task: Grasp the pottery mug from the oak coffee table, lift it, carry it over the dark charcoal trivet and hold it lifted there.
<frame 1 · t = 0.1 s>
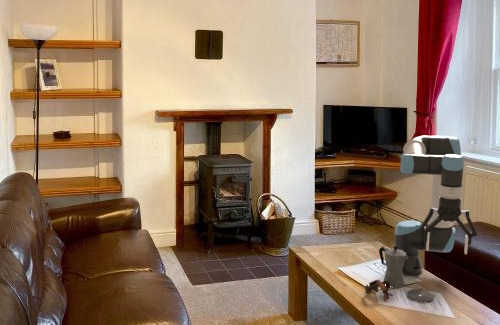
hand: (446, 251, 205), 28 cm above the table, tool pointing down, fingers open, 13 cm apart
trivet: (420, 296, 230), on the table
pottery mug: (378, 297, 231), on the table
coffeepot: (391, 284, 244), on the table
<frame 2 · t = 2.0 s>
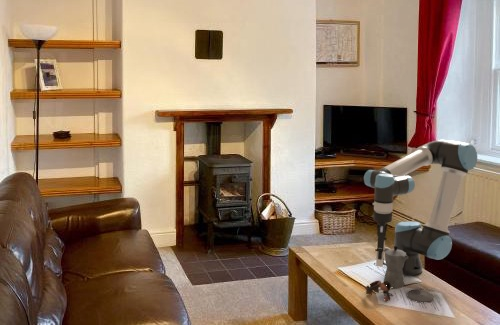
hand: (380, 260, 228), 16 cm above the table, tool pointing down, fingers open, 13 cm apart
nothing on the table moved.
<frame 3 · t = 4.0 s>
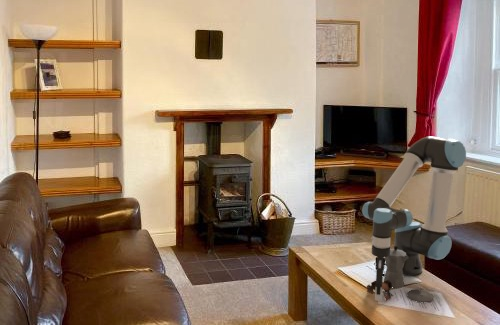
hand: (378, 295, 231), 0 cm above the table, tool pointing down, fingers open, 9 cm apart
pottery mug: (380, 296, 231), on the table
everything else where it was.
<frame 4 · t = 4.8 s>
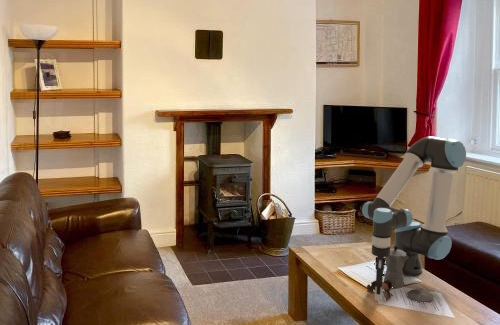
hand: (378, 295, 231), 0 cm above the table, tool pointing down, fingers closed on pottery mug, 9 cm apart
pottery mug: (380, 296, 231), on the table, touching gripper
everything else where it was.
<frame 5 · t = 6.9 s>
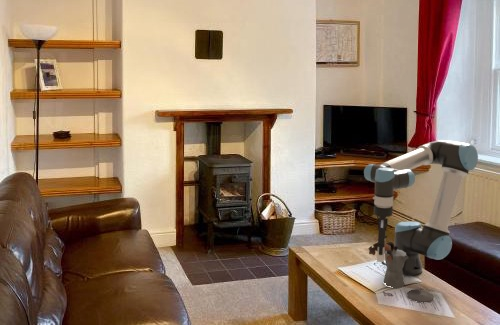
hand: (380, 257, 228), 17 cm above the table, tool pointing down, fingers closed on pottery mug, 9 cm apart
pottery mug: (383, 258, 228), point 17 cm above the table, touching gripper
everything else where it was.
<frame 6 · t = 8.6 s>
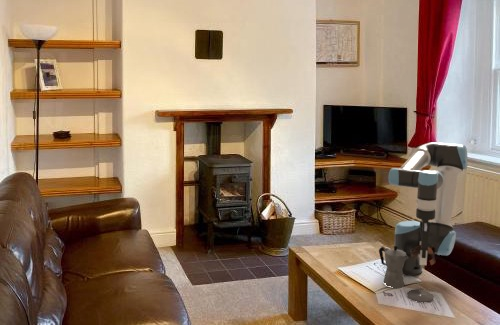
hand: (422, 260, 227), 16 cm above the table, tool pointing down, fingers closed on pottery mug, 9 cm apart
pottery mug: (424, 261, 227), point 16 cm above the table, touching gripper
everything else where it was.
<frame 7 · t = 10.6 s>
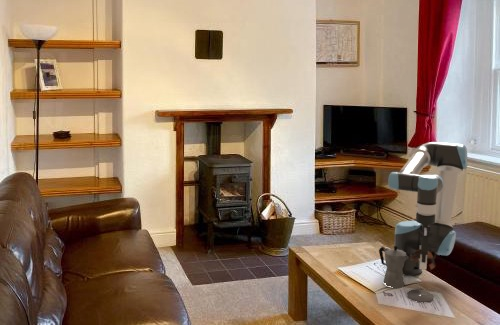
hand: (422, 264, 228), 14 cm above the table, tool pointing down, fingers closed on pottery mug, 9 cm apart
pottery mug: (424, 265, 228), point 14 cm above the table, touching gripper
everything else where it was.
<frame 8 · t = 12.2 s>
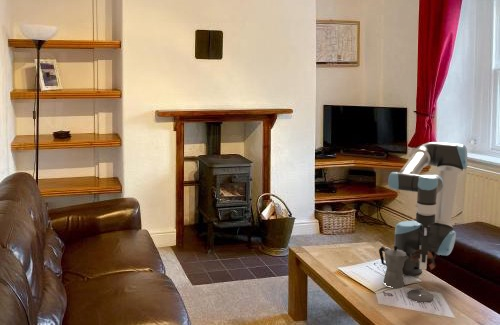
hand: (422, 264, 228), 14 cm above the table, tool pointing down, fingers closed on pottery mug, 9 cm apart
pottery mug: (424, 265, 228), point 14 cm above the table, touching gripper
everything else where it was.
at the end: the gripper is holding pottery mug; pottery mug point 13.9 cm above the table; pottery mug 1.1 cm from the trivet (horizontally) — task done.
